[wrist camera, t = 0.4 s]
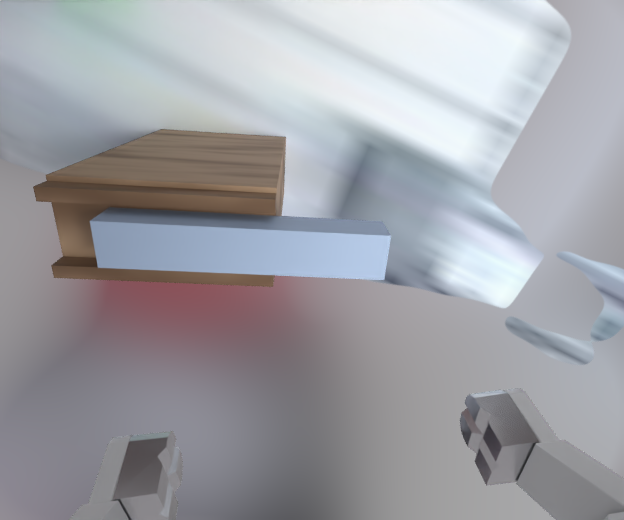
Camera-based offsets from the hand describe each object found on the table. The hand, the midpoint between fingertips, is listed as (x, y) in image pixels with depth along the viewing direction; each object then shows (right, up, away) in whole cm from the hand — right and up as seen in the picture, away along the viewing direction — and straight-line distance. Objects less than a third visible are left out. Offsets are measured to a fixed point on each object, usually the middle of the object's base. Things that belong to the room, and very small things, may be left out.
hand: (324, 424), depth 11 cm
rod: (-5, +6, +19) cm, 21 cm away
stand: (-12, +18, +42) cm, 47 cm away
